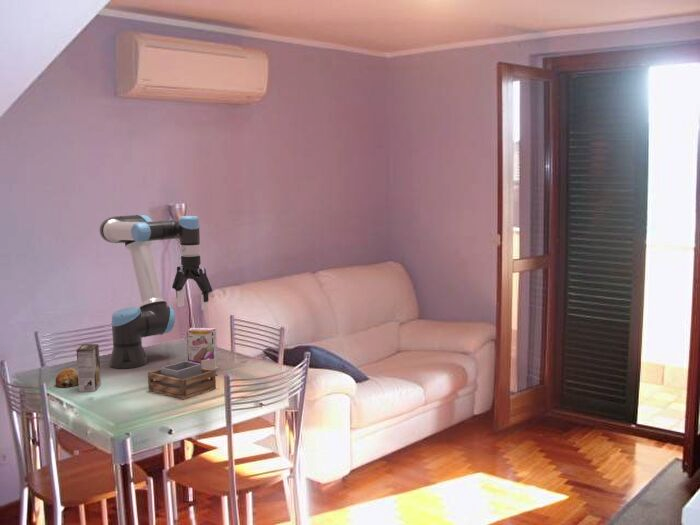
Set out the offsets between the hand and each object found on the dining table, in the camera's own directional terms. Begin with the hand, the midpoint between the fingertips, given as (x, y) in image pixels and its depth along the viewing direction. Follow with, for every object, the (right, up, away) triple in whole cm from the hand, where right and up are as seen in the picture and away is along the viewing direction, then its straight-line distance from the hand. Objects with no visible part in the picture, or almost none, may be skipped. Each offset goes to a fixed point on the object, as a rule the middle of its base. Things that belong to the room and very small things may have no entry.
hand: (192, 308), depth 311 cm
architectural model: (+6, -28, 0) cm, 28 cm away
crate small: (0, -28, -18) cm, 34 cm away
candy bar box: (+2, -26, +12) cm, 28 cm away
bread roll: (-46, -29, -9) cm, 55 cm away
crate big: (0, -29, -18) cm, 34 cm away
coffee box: (-36, -30, -15) cm, 49 cm away
